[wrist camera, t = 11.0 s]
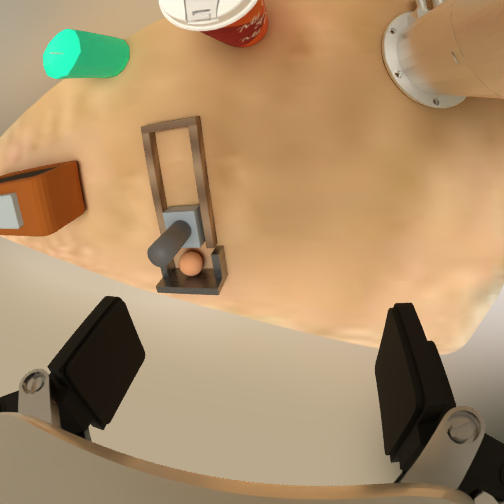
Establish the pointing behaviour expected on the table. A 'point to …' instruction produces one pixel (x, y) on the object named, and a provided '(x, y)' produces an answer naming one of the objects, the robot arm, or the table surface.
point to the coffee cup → (220, 19)
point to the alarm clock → (40, 200)
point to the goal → (195, 277)
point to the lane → (199, 169)
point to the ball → (190, 263)
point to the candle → (85, 55)
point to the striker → (177, 234)
